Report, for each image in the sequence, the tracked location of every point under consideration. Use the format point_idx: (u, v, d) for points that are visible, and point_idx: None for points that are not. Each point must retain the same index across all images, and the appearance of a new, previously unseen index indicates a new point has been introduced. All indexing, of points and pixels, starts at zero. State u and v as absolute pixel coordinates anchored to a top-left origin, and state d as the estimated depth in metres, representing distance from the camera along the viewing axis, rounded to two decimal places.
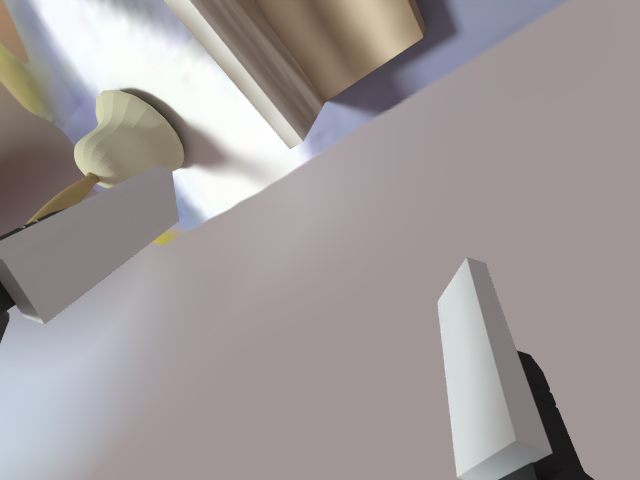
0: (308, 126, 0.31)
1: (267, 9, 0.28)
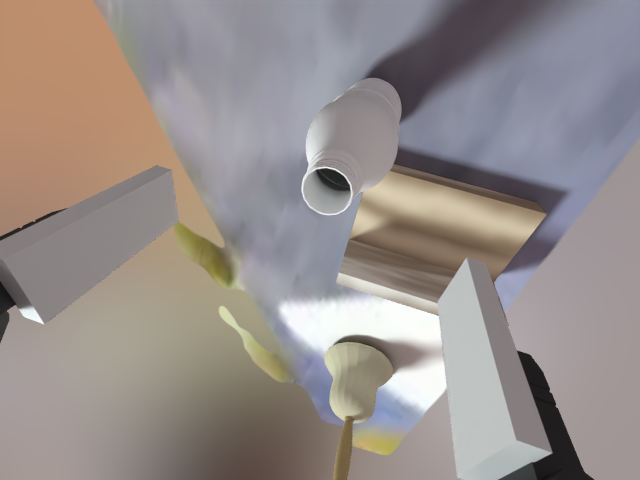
0: None
1: (425, 258, 0.42)
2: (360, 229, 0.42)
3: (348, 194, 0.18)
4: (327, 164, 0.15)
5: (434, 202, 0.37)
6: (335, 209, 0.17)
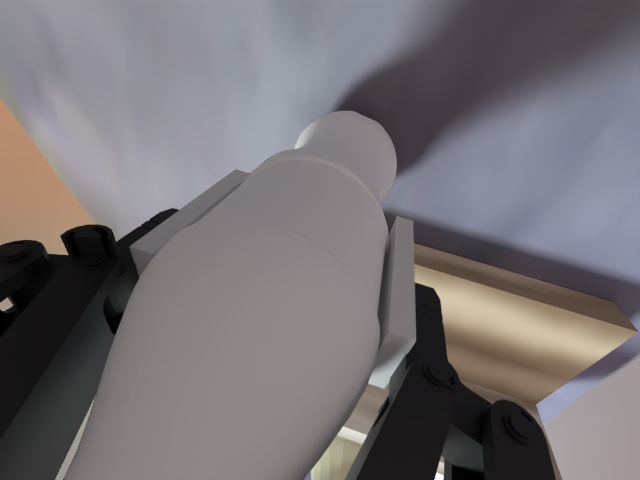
0: (556, 471, 0.24)
1: None
2: None
3: None
4: None
5: (449, 299, 0.24)
6: None
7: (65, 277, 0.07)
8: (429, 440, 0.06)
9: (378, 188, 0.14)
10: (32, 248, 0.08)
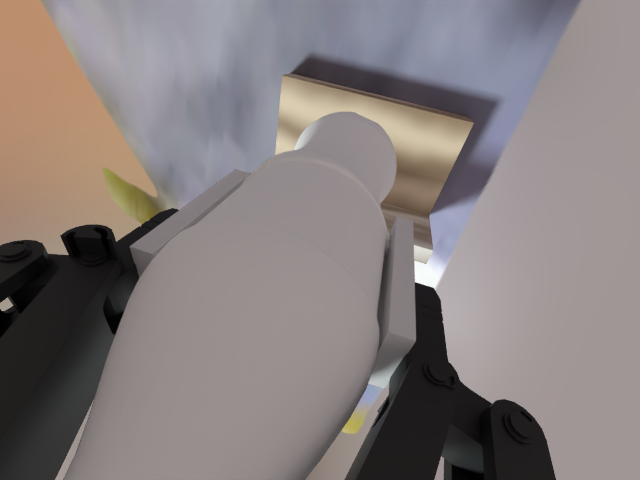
0: (429, 238, 0.34)
1: None
2: None
3: None
4: None
5: None
6: None
7: (65, 277, 0.07)
8: (429, 440, 0.06)
9: (378, 189, 0.13)
10: (32, 248, 0.08)
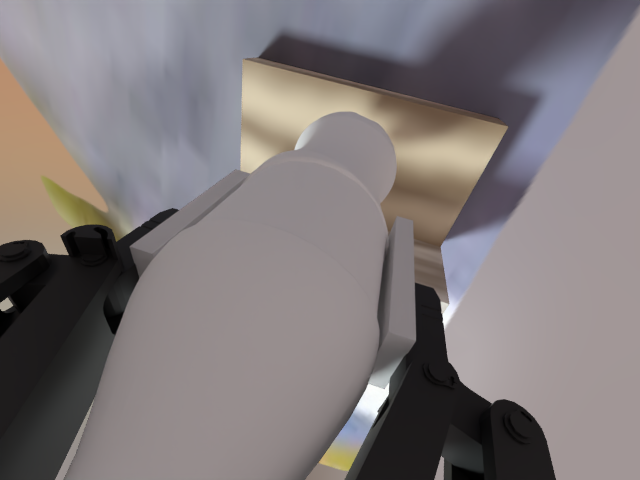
0: (442, 282, 0.25)
1: None
2: (251, 169, 0.30)
3: None
4: None
5: None
6: None
7: (65, 277, 0.07)
8: (429, 440, 0.06)
9: (378, 189, 0.14)
10: (32, 248, 0.08)
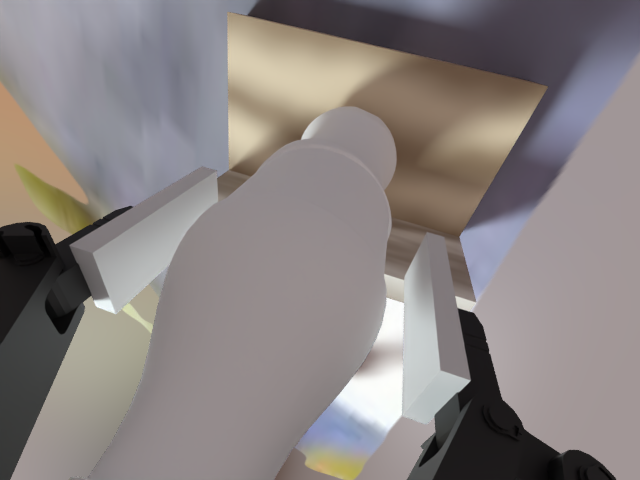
0: (465, 277, 0.21)
1: None
2: (240, 149, 0.26)
3: None
4: None
5: (344, 82, 0.21)
6: None
7: None
8: None
9: (380, 176, 0.15)
10: None
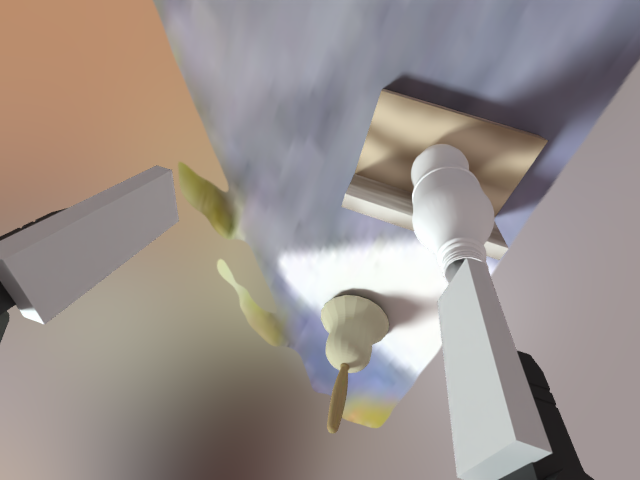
0: (501, 238, 0.38)
1: None
2: (366, 162, 0.43)
3: None
4: (471, 255, 0.20)
5: (440, 130, 0.39)
6: None
7: None
8: None
9: None
10: None
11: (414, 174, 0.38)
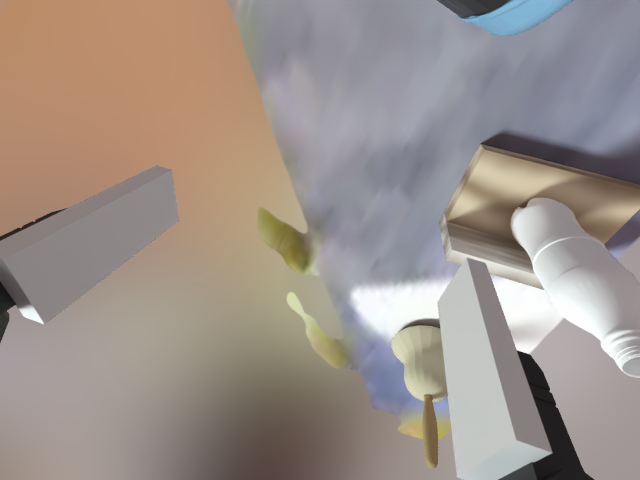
0: None
1: None
2: (460, 211, 0.45)
3: None
4: None
5: (541, 184, 0.40)
6: (638, 372, 0.23)
7: None
8: None
9: None
10: None
11: (518, 228, 0.40)
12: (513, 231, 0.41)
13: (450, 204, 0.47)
